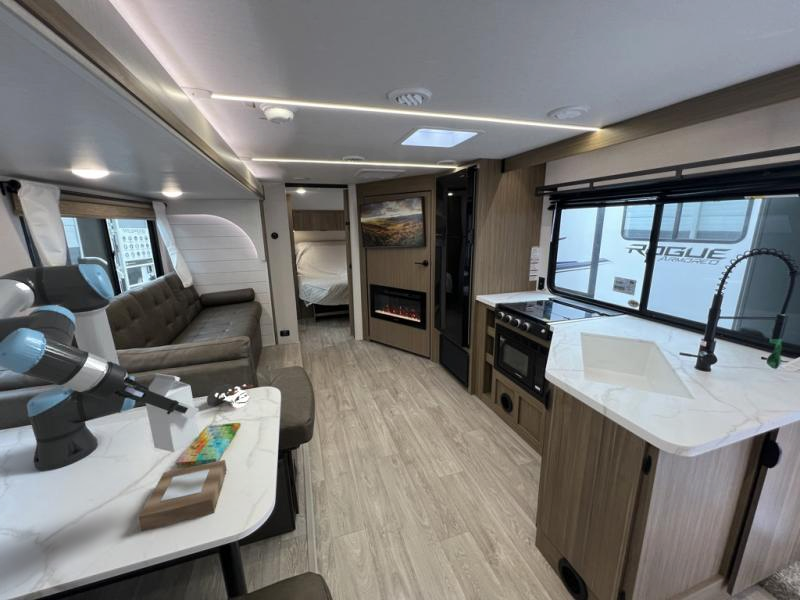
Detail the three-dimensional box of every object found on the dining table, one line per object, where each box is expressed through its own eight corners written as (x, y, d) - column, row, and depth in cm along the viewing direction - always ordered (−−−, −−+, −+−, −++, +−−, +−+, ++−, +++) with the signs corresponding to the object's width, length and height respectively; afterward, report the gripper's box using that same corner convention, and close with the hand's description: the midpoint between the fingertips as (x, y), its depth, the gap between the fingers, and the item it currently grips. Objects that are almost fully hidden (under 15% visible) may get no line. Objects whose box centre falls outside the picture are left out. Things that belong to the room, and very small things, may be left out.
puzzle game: (175, 460, 98) (206, 423, 118) (177, 473, 99) (208, 434, 119) (215, 456, 99) (240, 420, 119) (217, 469, 100) (241, 431, 120)
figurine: (230, 380, 149) (257, 379, 141) (234, 400, 149) (261, 400, 141) (200, 391, 136) (227, 391, 128) (205, 413, 137) (232, 414, 129)
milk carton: (174, 453, 81) (160, 382, 77) (154, 448, 83) (140, 379, 80) (199, 436, 88) (188, 370, 84) (180, 432, 90) (168, 368, 86)
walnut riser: (166, 484, 94) (163, 471, 94) (226, 471, 99) (224, 458, 98) (141, 530, 79) (137, 516, 78) (214, 512, 84) (211, 498, 83)
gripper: (66, 382, 74) (158, 413, 91) (100, 404, 63) (198, 434, 80) (91, 353, 78) (176, 388, 94) (127, 369, 67) (216, 405, 83)
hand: (186, 409), depth 87 cm, fingers closed on milk carton, 8 cm apart
